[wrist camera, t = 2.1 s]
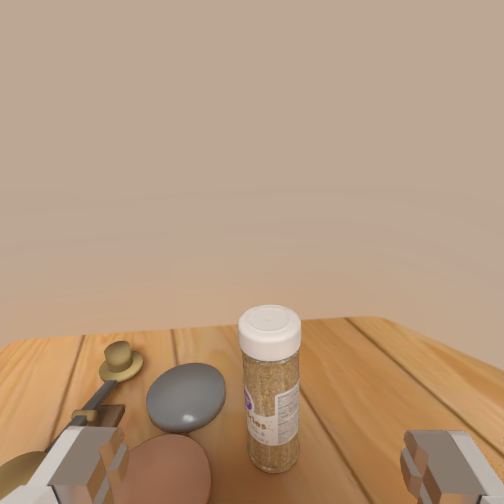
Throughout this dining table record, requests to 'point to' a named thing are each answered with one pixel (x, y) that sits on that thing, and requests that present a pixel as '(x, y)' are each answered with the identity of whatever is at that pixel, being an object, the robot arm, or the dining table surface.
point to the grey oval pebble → (186, 398)
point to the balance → (80, 414)
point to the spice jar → (271, 384)
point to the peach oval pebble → (166, 473)
